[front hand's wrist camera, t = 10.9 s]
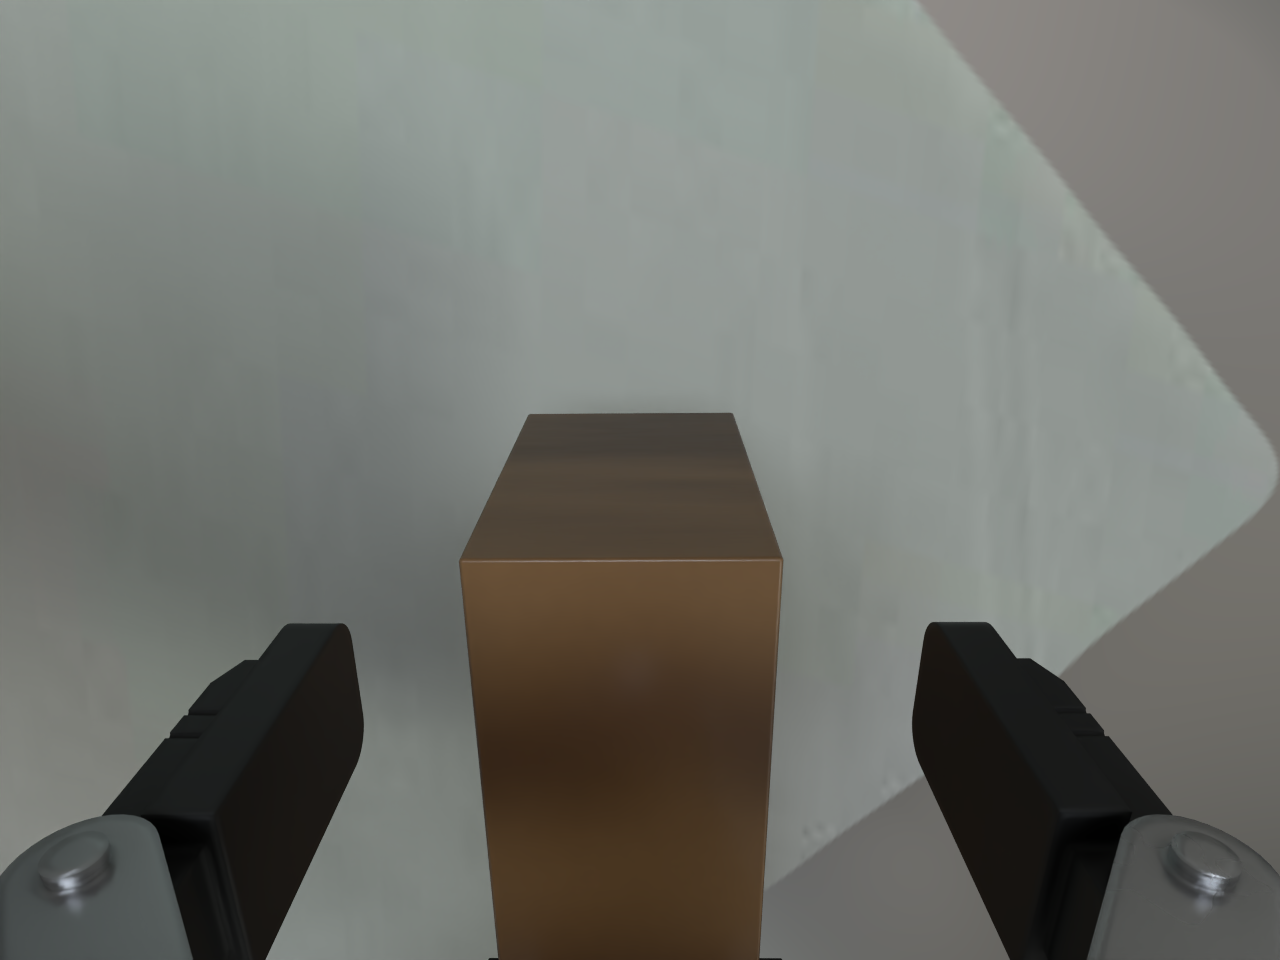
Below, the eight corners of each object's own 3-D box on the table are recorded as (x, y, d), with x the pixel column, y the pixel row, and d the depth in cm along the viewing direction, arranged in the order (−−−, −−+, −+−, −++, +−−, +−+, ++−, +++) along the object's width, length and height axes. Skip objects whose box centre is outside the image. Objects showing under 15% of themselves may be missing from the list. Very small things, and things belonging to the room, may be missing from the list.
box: (527, 413, 24) (457, 559, 15) (733, 412, 24) (784, 558, 15) (559, 940, 32) (525, 1244, 23) (715, 941, 32) (742, 1244, 23)
